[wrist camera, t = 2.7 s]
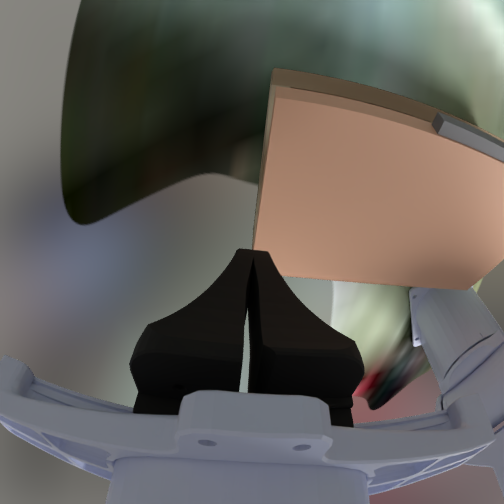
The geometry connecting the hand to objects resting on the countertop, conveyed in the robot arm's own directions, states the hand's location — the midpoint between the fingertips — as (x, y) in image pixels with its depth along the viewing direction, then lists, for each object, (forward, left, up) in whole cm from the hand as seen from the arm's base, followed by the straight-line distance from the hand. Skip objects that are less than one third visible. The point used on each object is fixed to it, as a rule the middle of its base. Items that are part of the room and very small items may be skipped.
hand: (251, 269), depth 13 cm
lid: (-3, -9, -3) cm, 10 cm away
